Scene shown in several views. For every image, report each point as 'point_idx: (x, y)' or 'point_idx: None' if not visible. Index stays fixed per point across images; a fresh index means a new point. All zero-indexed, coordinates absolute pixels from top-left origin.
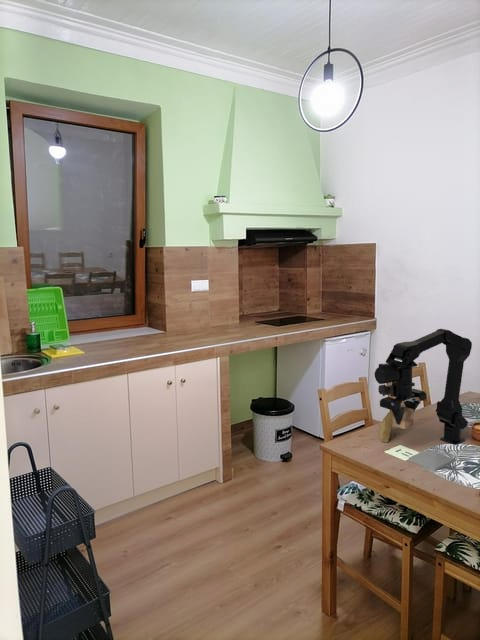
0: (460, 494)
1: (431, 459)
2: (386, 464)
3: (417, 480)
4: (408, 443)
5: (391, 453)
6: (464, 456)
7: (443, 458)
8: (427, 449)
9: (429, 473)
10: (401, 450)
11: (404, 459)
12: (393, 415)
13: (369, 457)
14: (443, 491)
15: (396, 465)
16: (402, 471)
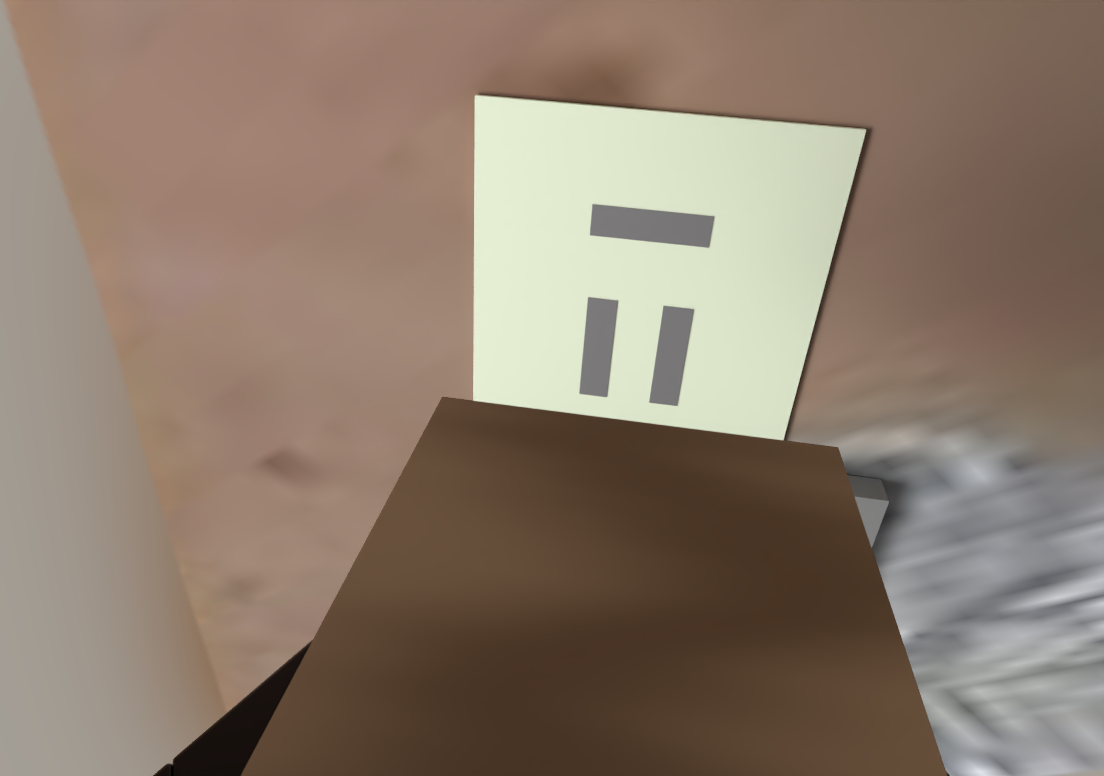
0: None
1: None
2: (239, 312)
3: (260, 614)
4: (1021, 185)
5: (501, 207)
6: (983, 729)
7: None
8: (873, 502)
9: None
10: (686, 251)
11: (484, 397)
12: (336, 636)
13: (182, 48)
14: None
15: (312, 394)
16: (269, 484)
